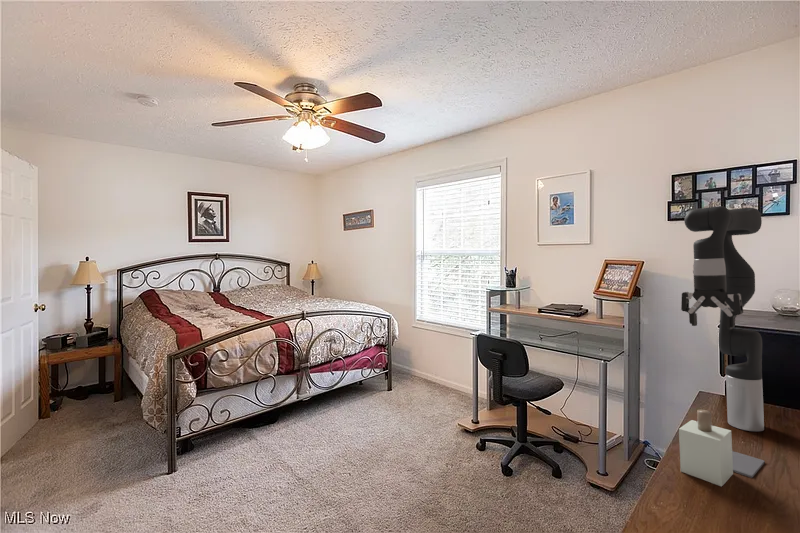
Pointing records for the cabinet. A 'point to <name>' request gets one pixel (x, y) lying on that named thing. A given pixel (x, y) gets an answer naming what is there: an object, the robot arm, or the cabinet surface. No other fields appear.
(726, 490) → the cabinet surface
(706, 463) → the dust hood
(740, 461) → the mat
